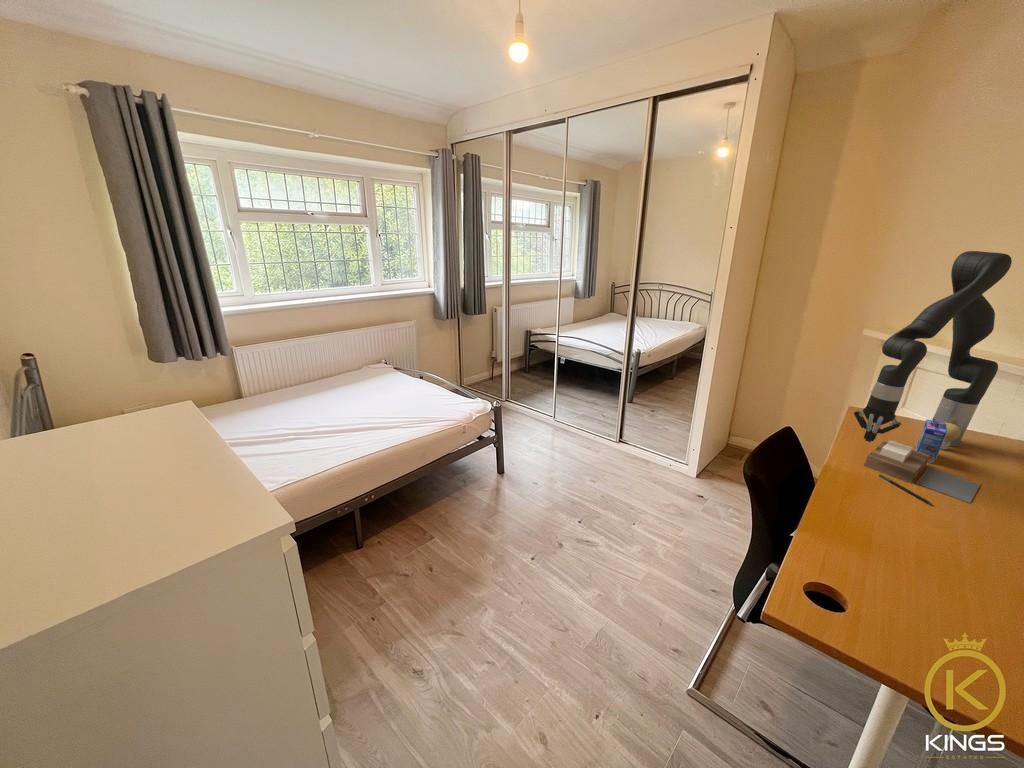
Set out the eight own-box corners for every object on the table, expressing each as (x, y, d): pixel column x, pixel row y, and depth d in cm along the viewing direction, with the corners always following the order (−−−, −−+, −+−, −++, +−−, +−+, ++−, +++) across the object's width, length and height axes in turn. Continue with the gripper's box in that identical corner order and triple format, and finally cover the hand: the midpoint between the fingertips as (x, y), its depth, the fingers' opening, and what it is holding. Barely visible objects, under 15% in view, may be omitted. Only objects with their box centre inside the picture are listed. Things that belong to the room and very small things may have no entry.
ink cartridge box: (913, 448, 149) (928, 412, 143) (934, 453, 145) (950, 417, 140) (912, 458, 142) (928, 421, 137) (934, 464, 138) (951, 427, 133)
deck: (880, 450, 147) (884, 440, 145) (925, 465, 138) (929, 455, 136) (863, 465, 137) (867, 455, 136) (910, 482, 128) (915, 472, 126)
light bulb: (924, 445, 150) (935, 421, 147) (932, 442, 153) (943, 418, 149) (947, 453, 145) (959, 429, 141) (955, 450, 148) (967, 425, 144)
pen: (931, 508, 117) (933, 504, 117) (877, 477, 132) (879, 474, 131) (934, 507, 117) (936, 504, 117) (880, 476, 132) (881, 473, 131)
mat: (928, 467, 136) (928, 466, 136) (979, 485, 127) (980, 484, 127) (915, 483, 128) (915, 482, 128) (969, 503, 119) (970, 502, 119)
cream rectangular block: (887, 446, 141) (890, 440, 140) (910, 454, 137) (913, 447, 136) (879, 454, 136) (882, 447, 136) (902, 462, 132) (905, 455, 131)
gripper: (915, 400, 133) (895, 445, 139) (865, 387, 143) (849, 430, 149) (908, 405, 129) (889, 452, 135) (857, 392, 139) (841, 436, 145)
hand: (868, 440), depth 142 cm, fingers closed
